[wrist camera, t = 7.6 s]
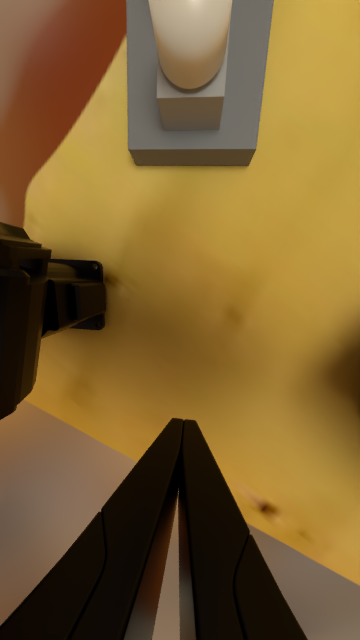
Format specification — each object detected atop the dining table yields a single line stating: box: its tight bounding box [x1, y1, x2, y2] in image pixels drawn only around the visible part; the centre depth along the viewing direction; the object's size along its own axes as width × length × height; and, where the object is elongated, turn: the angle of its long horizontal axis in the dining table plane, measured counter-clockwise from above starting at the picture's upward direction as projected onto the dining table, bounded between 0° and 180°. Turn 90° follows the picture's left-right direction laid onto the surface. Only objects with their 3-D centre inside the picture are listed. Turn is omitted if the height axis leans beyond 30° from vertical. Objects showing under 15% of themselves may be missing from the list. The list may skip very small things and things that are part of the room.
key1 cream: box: [148, 0, 232, 89], centre depth 10 cm, size 4×4×5 cm
